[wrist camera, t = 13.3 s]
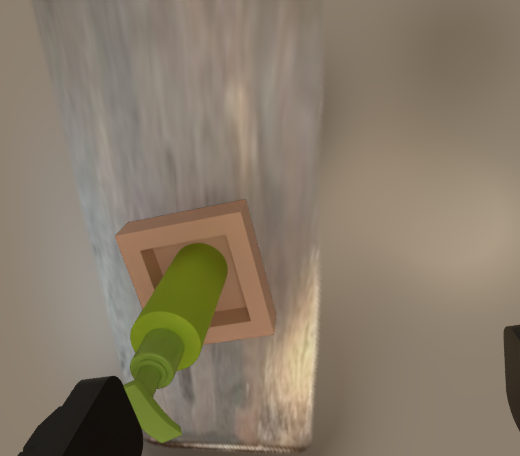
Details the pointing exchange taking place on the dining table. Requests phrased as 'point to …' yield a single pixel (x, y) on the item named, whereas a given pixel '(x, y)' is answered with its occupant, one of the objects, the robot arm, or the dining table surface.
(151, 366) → the green pump bottle
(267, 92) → the dining table surface
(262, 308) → the tray
